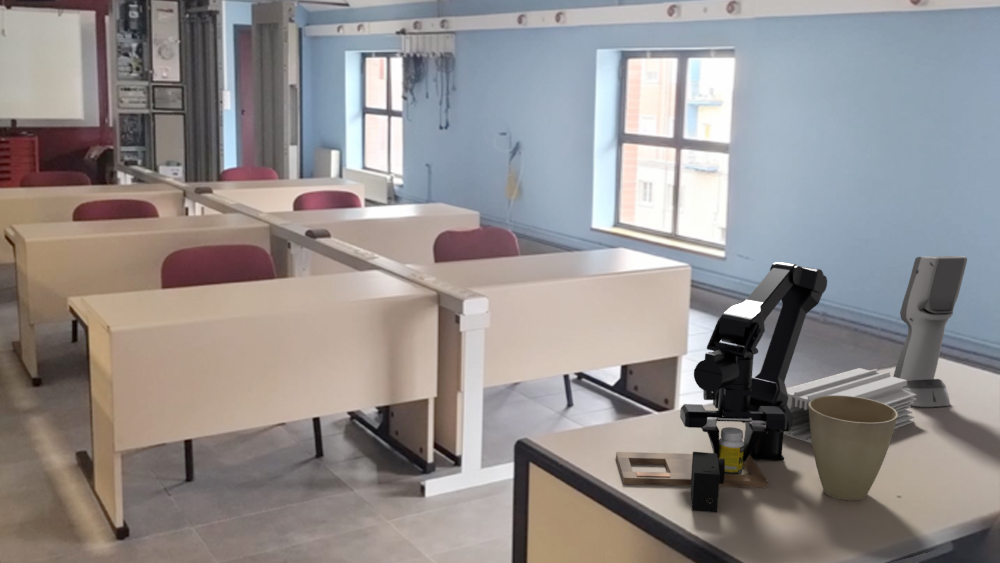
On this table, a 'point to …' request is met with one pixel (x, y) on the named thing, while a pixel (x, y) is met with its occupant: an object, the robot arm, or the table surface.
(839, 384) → the aluminum extrusion profile
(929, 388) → the thermal camera
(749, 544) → the table surface
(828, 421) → the plant pot
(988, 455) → the table surface
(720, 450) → the supplement bottle
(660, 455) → the jack panel
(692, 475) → the digital camera
